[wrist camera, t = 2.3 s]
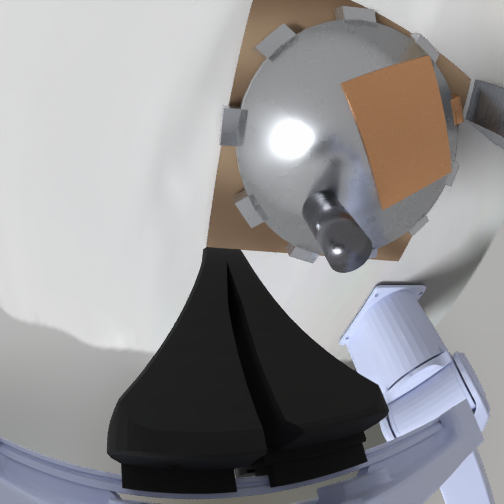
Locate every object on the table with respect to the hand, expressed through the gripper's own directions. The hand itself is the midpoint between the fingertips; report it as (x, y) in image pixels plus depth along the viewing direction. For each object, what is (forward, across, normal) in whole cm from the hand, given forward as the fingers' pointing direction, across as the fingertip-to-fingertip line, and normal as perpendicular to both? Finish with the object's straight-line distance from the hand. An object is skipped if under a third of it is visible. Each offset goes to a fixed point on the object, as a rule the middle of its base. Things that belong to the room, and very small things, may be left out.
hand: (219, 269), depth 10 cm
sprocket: (+8, -9, -5) cm, 12 cm away
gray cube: (+8, -21, -12) cm, 26 cm away
